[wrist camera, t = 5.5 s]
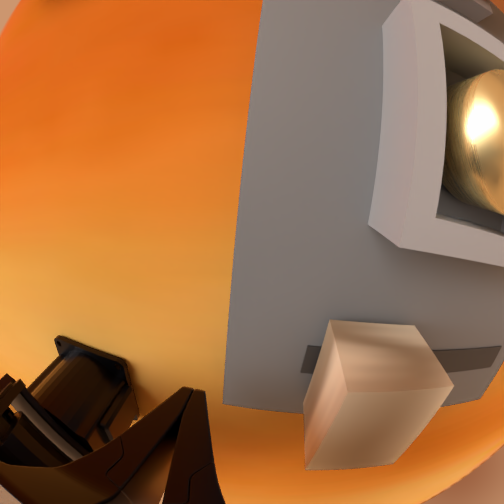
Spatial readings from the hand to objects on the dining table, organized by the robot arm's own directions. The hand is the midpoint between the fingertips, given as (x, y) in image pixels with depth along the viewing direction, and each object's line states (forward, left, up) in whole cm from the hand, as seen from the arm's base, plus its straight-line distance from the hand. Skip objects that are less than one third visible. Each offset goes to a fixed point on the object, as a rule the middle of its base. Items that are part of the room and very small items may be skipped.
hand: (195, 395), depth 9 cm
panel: (+10, +10, -5) cm, 14 cm away
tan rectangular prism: (+7, 0, -3) cm, 7 cm away
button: (+10, +11, -3) cm, 15 cm away
